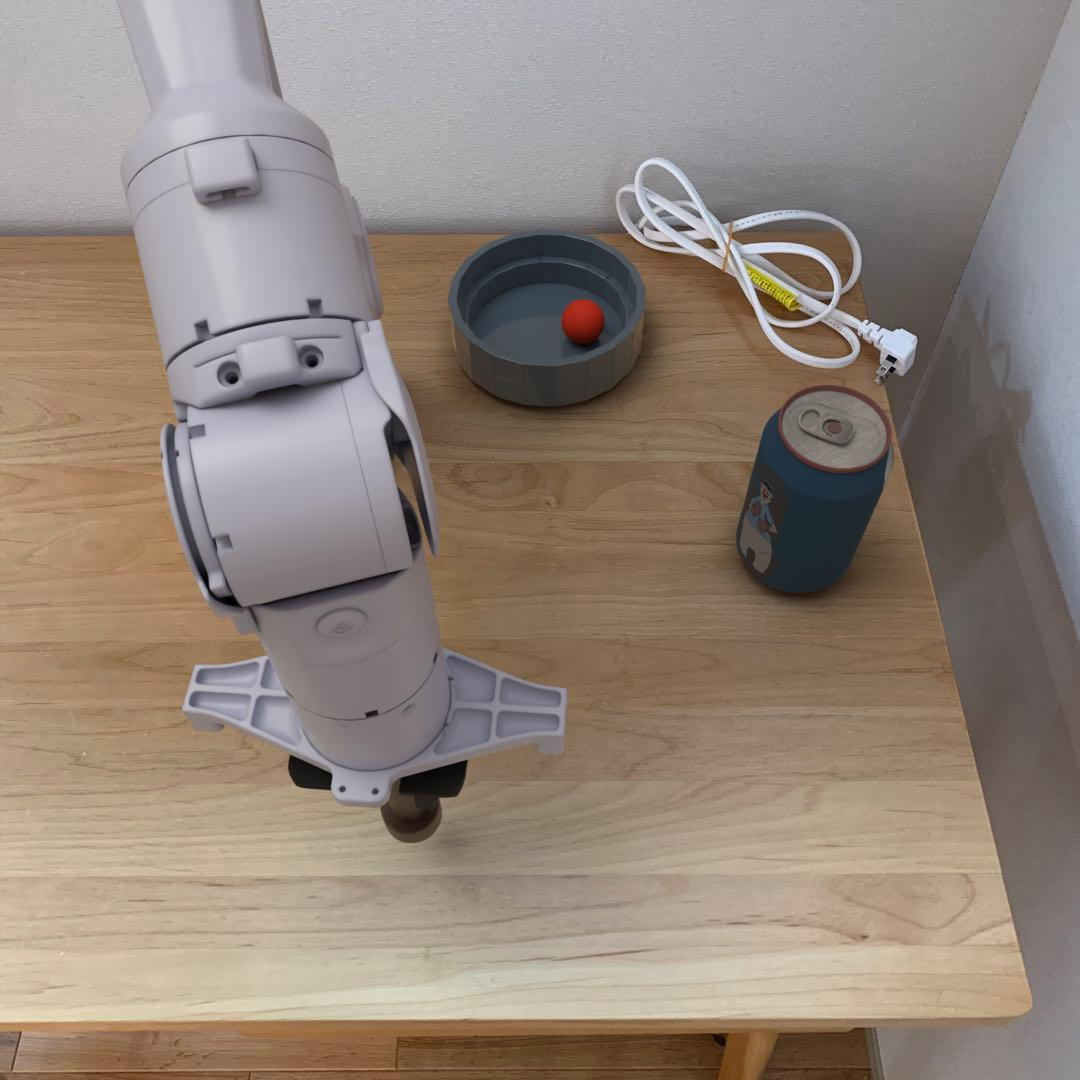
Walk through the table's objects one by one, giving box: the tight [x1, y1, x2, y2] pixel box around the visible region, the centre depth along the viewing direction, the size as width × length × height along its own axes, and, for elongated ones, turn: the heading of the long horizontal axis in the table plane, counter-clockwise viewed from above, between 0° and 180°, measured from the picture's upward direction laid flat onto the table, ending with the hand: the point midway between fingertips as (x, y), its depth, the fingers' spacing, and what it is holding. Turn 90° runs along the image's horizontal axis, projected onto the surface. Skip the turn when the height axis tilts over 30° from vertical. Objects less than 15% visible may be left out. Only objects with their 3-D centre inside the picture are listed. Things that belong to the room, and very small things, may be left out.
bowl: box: [447, 228, 646, 407], centre depth 71 cm, size 13×13×4 cm
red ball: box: [561, 299, 605, 344], centre depth 71 cm, size 3×3×3 cm
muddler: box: [380, 778, 443, 844], centre depth 46 cm, size 3×3×8 cm
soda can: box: [735, 384, 895, 594], centre depth 57 cm, size 7×7×12 cm
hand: (403, 786), depth 47 cm, fingers closed on muddler, 2 cm apart
